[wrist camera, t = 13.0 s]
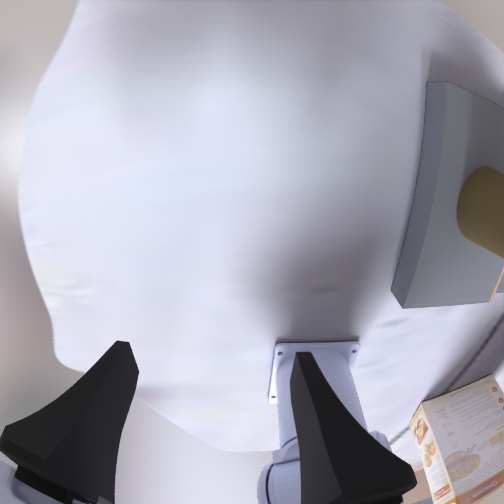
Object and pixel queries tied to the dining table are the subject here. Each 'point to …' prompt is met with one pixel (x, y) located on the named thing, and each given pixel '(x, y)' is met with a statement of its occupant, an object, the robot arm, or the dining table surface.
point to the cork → (483, 209)
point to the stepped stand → (450, 203)
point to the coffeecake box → (462, 442)
